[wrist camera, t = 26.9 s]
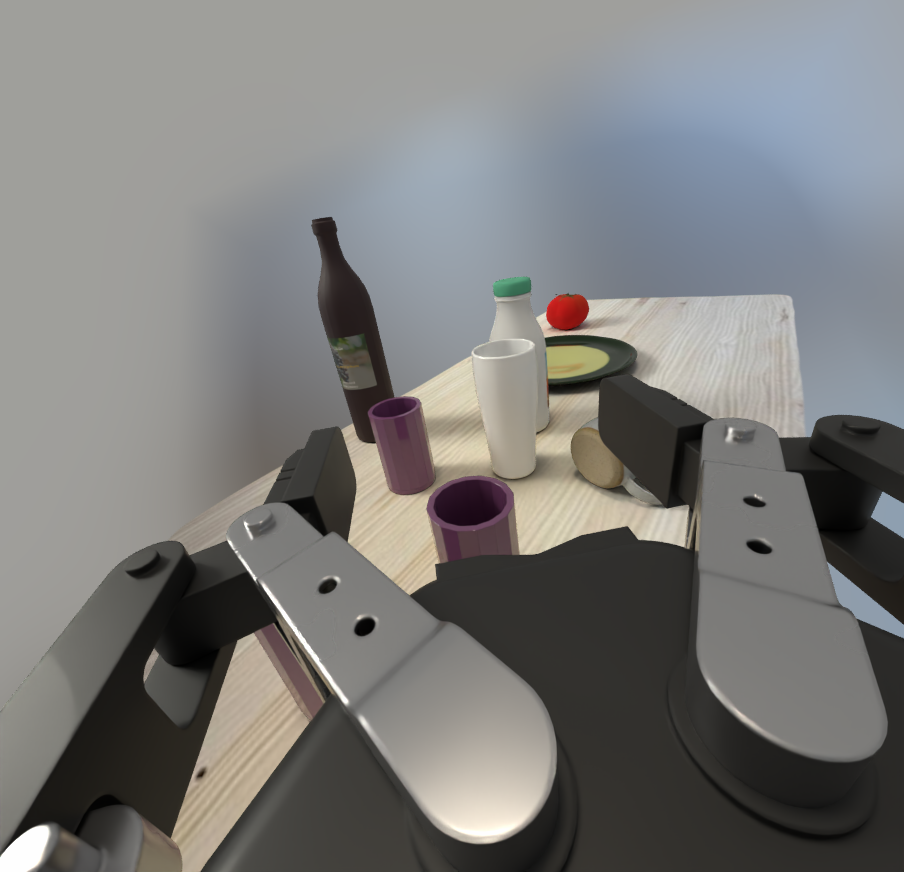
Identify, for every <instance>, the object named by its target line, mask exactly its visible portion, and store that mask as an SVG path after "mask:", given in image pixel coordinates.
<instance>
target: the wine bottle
mask: <svg viewBox="0 0 904 872" xmlns="http://www.w3.org/2000/svg"><path fill="white" fill-rule="evenodd" d="M311 226H312V229H313V233H314V235H316V237H317V240H318V244H319V247H320V251H321V258H322V268H321V276H320V281H319V287H318V304H319V310H320V314H321V318H322V321H323V325H324V327H325V331H326V335H327V338H328V341H329V344H330V348H331V351H332V354H333V357H334V361H335V364H336V368H337V371H338V374H339V377H340V381H341V384H342V387H343V391H344V394H345V397H346V400H347V403H348V407H349V410H350V414H351V417H352V420H353V423H354V427H355V430H356V433H357V436H358V437H359V439H360V440H362V441H365V442H376V441H375V437H374V433H373V430H372V426H371V423H370V419H369V416H368V411H369V409H370V408H371V407H372V406H374V405H375V404H377V403H379V402H381V401H384V400H387V399H391V398H395V397H394V393H393V390H392V385H391V381H390V376H389V373H388V368H387V365H386V360H385V356H384V351H383V347H382V343H381V339H380V335H379V331H378V326H377V322H376V318H375V314H374V310H373V306H372V303H371V300H370V296H369V294H368V292H367V290H366V288H365V286H364V284H363V283H362V282H361V280H360V278H359V277H358V276H357V275H356V273H355V272H354V271H353V270H352V269H351V267H350V266H349V264H348V263H347V261H346V260H345V259H344V256H343V254H342V251H341V248H340V246H339V242H338V238H337V234H336V232H337V228H336V224H335V221H333V219H332V217H326V218H320V219H315V220H312V225H311Z"/></svg>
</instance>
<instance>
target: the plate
mask: <svg viewBox="0 0 904 872" xmlns="http://www.w3.org/2000/svg"><path fill="white" fill-rule="evenodd" d="M545 344H546V353H547V369H548V386H554V385H568V384H576V383H582V382H587V381H591V380H595V379H599V378H602V377H605V376H608V375H611V374H613V373H615V372H618V371H621V370H623V369H625V368H627V367H628V366H630V365H631V364H632V363H633V362H634V361H635V360H636V358H637V351H636V350H635V348H634V347H632V346H631V345H629V344H628V343H626V342H623V341H620V340H617V339H613V338H606V337H599V336H589V335H565V336H553V337H547V338H545Z"/></svg>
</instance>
